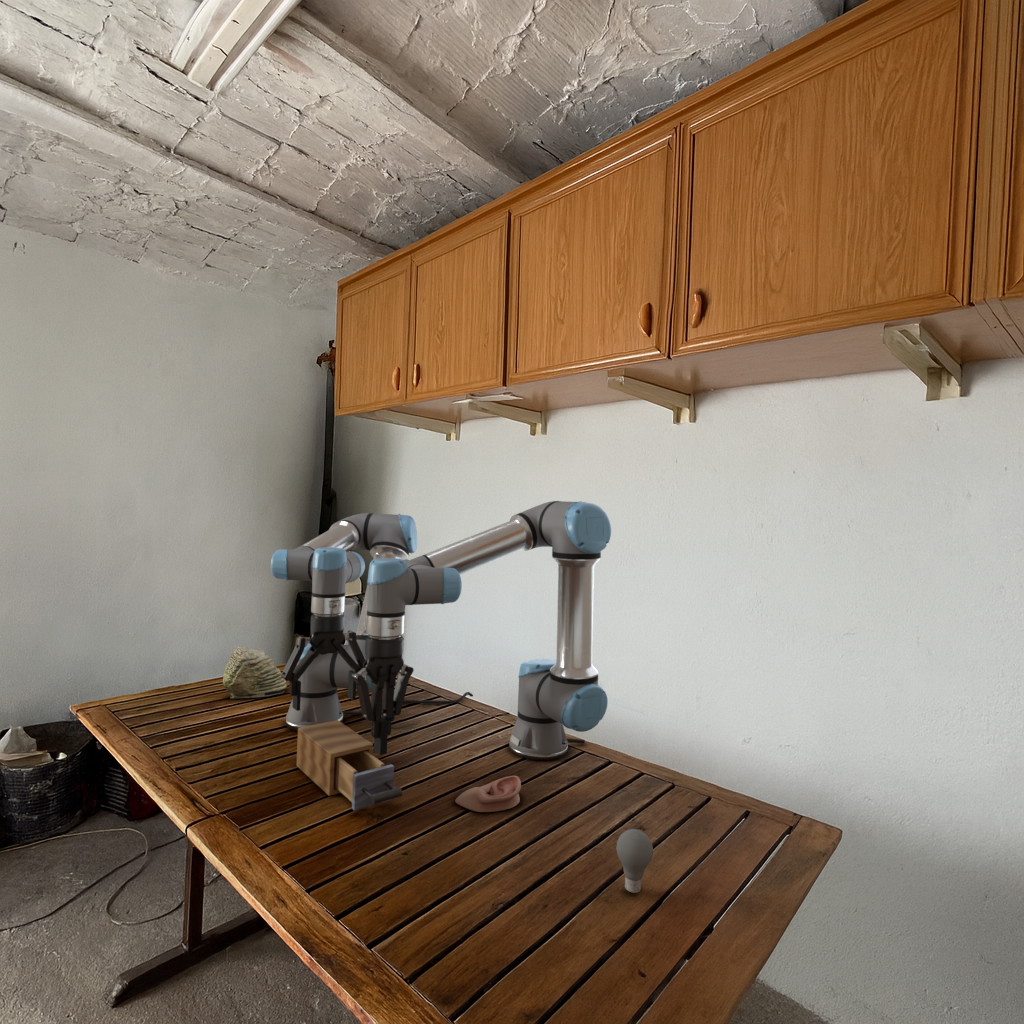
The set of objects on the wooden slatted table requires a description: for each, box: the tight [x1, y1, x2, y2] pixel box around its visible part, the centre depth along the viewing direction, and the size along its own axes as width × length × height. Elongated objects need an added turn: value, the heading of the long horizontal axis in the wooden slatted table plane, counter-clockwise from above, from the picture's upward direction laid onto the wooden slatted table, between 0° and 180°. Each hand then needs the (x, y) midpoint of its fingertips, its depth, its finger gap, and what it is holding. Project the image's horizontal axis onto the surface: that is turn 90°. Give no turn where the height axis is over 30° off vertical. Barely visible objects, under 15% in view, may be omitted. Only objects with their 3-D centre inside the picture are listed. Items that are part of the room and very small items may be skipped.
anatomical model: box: [454, 775, 522, 813], centre depth 135 cm, size 13×4×12 cm
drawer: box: [334, 750, 403, 812], centre depth 134 cm, size 23×9×7 cm, turn 40°
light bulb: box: [615, 828, 654, 894], centre depth 106 cm, size 6×6×10 cm
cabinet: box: [296, 720, 374, 797], centre depth 144 cm, size 18×10×9 cm, turn 40°
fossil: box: [222, 646, 288, 699], centre depth 198 cm, size 9×18×15 cm, turn 132°
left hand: (324, 703), depth 149 cm, fingers open, 13 cm apart
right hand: (380, 752), depth 128 cm, fingers closed
